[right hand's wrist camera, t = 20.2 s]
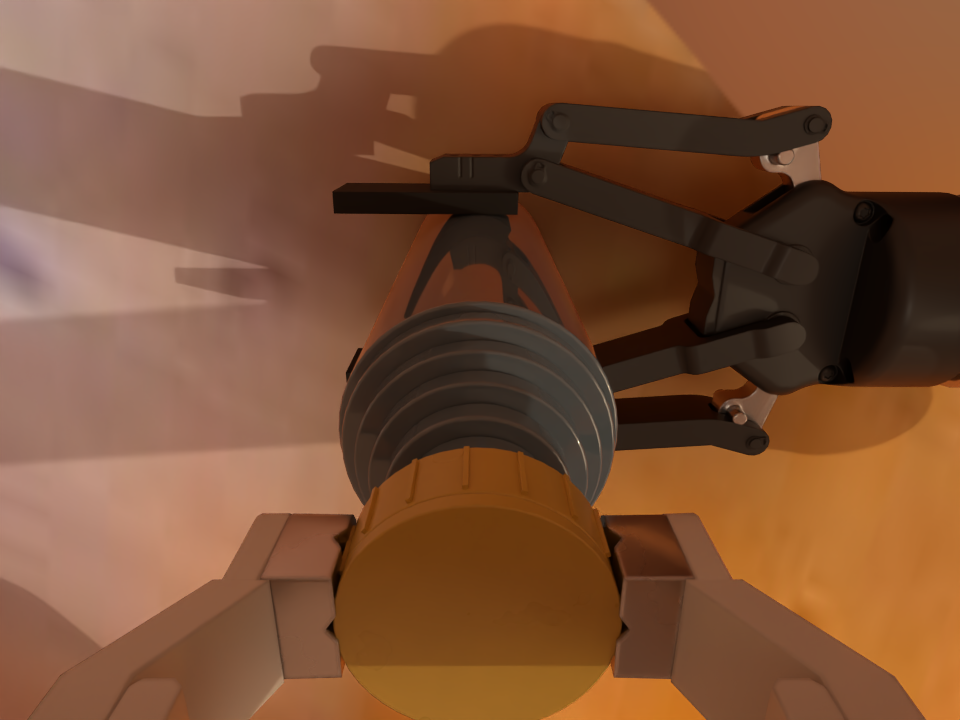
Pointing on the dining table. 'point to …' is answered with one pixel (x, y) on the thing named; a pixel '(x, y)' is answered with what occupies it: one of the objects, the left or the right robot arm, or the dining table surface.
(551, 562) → the cap
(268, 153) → the dining table surface
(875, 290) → the left robot arm
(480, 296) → the bottle
